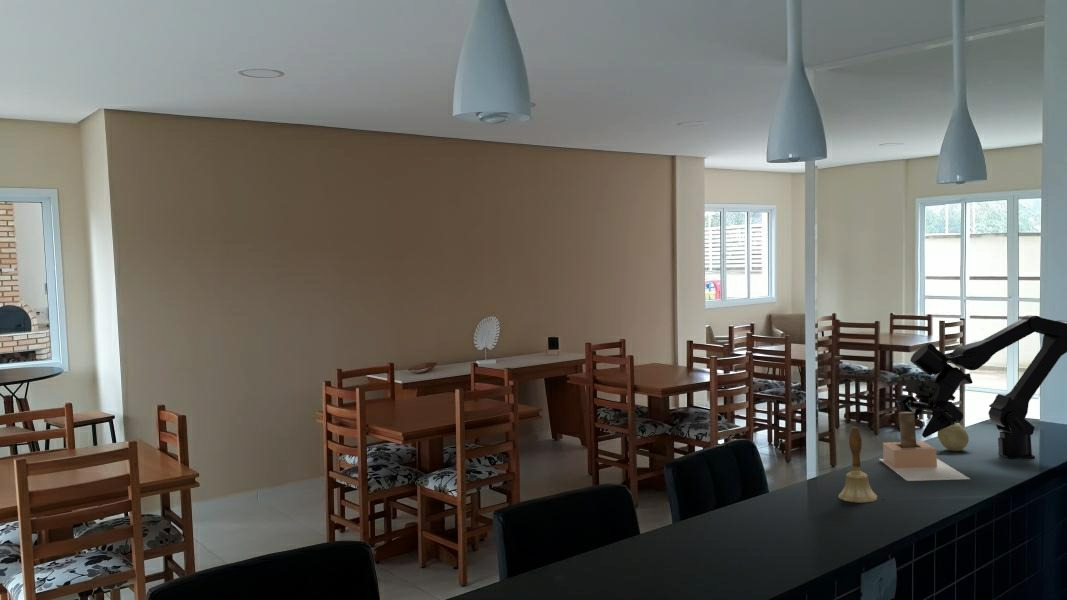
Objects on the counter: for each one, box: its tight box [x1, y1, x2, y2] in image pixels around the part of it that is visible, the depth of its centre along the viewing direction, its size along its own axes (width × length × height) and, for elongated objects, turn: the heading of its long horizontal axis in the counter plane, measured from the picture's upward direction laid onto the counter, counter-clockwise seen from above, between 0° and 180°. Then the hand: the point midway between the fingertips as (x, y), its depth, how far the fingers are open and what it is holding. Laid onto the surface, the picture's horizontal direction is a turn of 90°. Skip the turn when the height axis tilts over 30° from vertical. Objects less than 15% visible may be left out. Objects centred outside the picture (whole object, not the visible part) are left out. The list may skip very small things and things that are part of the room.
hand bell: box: [838, 426, 879, 504], centre depth 178 cm, size 8×8×16 cm
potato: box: [937, 423, 970, 452], centre depth 217 cm, size 8×8×8 cm
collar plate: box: [878, 440, 971, 482], centre depth 199 cm, size 14×24×5 cm, turn 171°
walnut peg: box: [898, 411, 917, 448], centre depth 205 cm, size 4×4×13 cm
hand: (910, 433), depth 205 cm, fingers open, 9 cm apart
